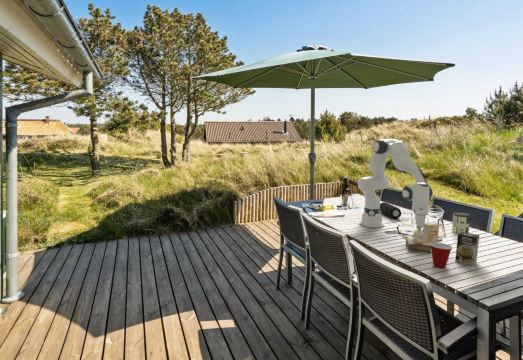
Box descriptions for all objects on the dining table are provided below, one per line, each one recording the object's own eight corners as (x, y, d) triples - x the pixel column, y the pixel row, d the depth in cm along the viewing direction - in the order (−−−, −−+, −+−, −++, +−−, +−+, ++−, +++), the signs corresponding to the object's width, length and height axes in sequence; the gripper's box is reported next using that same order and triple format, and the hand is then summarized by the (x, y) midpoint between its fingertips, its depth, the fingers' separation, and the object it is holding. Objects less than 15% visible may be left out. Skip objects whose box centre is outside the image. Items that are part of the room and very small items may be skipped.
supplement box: (427, 244, 193) (429, 225, 191) (421, 242, 198) (423, 223, 196) (438, 243, 195) (439, 224, 193) (432, 241, 200) (433, 222, 198)
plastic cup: (453, 265, 162) (454, 244, 160) (449, 272, 154) (450, 249, 152) (430, 260, 169) (432, 239, 167) (425, 266, 161) (427, 244, 159)
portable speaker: (377, 212, 278) (377, 201, 277) (387, 212, 278) (388, 201, 277) (390, 219, 253) (391, 208, 251) (402, 219, 253) (402, 207, 252)
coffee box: (454, 261, 167) (457, 233, 165) (457, 258, 171) (460, 231, 169) (474, 266, 160) (477, 237, 158) (477, 262, 165) (479, 234, 163)
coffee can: (462, 230, 222) (463, 211, 220) (472, 234, 211) (473, 215, 209) (448, 230, 221) (449, 212, 220) (457, 235, 211) (459, 215, 209)
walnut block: (405, 245, 194) (405, 237, 194) (426, 246, 191) (426, 239, 190) (408, 251, 183) (409, 243, 182) (430, 253, 179) (431, 245, 179)
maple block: (413, 239, 190) (413, 230, 189) (422, 240, 188) (422, 231, 187) (413, 242, 185) (414, 232, 184) (422, 243, 183) (423, 233, 182)
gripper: (413, 204, 194) (412, 225, 196) (415, 212, 176) (413, 234, 178) (424, 205, 191) (422, 226, 194) (427, 213, 173) (425, 236, 175)
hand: (418, 230), depth 185 cm, fingers open, 8 cm apart
